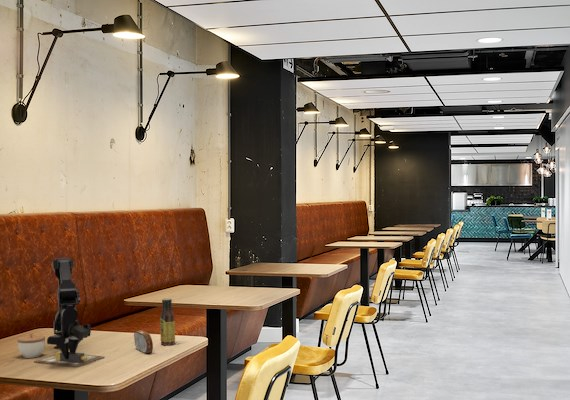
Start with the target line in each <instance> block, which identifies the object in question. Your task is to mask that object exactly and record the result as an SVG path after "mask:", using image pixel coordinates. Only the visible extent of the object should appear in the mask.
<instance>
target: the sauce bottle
mask: <svg viewBox="0 0 570 400" xmlns="http://www.w3.org/2000/svg"><path fill="white" fill-rule="evenodd" d="M172 301H173V300H172V298H170V297H168V298H167V297H166V298H162V299H161V303H162V311H161V313H160V316H159V325H160V326H159V329H160V330H159V331H160V334H159V335H160V344H161V345H162V346H173V345H175V344H176V321H175V320H176V319H175V312H174V311H173V309H172Z"/></svg>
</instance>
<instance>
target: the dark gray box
mask: <svg viewBox="0 0 570 400" xmlns="http://www.w3.org/2000/svg"><path fill="white" fill-rule="evenodd" d="M54 353H55V354H54V355H55V360H57V361H67V362H78V363H80V362H83V361H84V360H87V356H84V355H85V353H83V352H70V351H69V357H68V359H65V357H64V355H63V353H62V352H61V350H60V351H59V350H58V351H57V352H54Z"/></svg>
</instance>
